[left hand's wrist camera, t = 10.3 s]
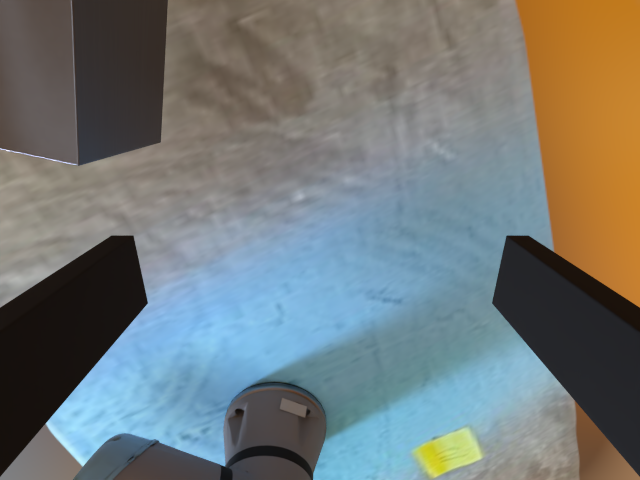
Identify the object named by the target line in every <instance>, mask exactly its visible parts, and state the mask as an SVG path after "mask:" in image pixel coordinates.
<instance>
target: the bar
mask: <svg viewBox="0 0 640 480" xmlns="http://www.w3.org/2000/svg"><path fill="white" fill-rule="evenodd" d="M167 4H168V0H0V149H2V150H7V151H12V152H16V153H21V154H26V155H30V156H35V157H40V158H45V159H49V160H54V161H59V162H63V163H68V164H73V165H78V166H79V165H83V164H86V163H90V162H93V161H97V160H100V159H104V158H107V157H111V156H114V155H118V154H121V153H125V152H128V151H132V150H135V149H139V148H142V147H146V146H149V145H153V144H156V143H160V142H161V126H162V106H163V86H164V65H165V45H166V25H167Z"/></svg>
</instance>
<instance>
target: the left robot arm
mask: <svg viewBox="0 0 640 480" xmlns="http://www.w3.org/2000/svg"><path fill="white" fill-rule="evenodd" d="M147 304H148V302H147V297H146V292H145V288H144V283H143V278H142V274H141V269H140V264H139V260H138V255H137V250H136V246H135V241H134V236H110V237H109V238H107V239H106V240H104V241H103V242H101V243H100V244H98V245H96V246H95V247H93V248H92V249H90V250H89V251H87V252H86V253H84V254H83V255H81V256H79V257H78V258H76V259H75V260H73V261H72V262H70V263H69V264H67V265H66V266H64V267H62V268H61V269H59V270H58V271H56V272H55V273H53V274H52V275H50V276H49V277H47V278H45V279H44V280H42V281H41V282H39V283H38V284H36V285H35V286H33V287H32V288H30V289H28V290H27V291H25V292H24V293H22V294H21V295H19V296H18V297H16V298H15V299H13V300H11V301H10V302H8V303H7V304H5V305H4V306H2V307H1V308H0V476H1V475H2V474H3V473H4V472H5V470H6V469H7V468H8V467H9V466H10V464H11V463H12V462H13V461H14V460H15V459H16V457H17V456H18V455H19V454H20V453H21V452H22V450H23V449H24V448H25V447H26V446H27V445H28V443H29V442H30V441H31V440H32V439H33V438H34V436H35V435H36V434H37V433H38V432H39V430H40V429H41V428H42V427H43V426H44V425H45V423H46V422H47V421H48V420H49V419H50V418H51V416H52V415H53V414H54V413H55V412H56V410H57V409H58V408H59V407H60V406H61V405H62V403H63V402H64V401H65V400H66V399H67V398H68V396H69V395H70V394H71V393H72V392H73V391H74V389H75V388H76V387H77V386H78V385H79V383H80V382H81V381H82V380H83V379H84V378H85V376H86V375H87V374H88V373H89V372H90V371H91V369H92V368H93V367H94V366H95V365H96V363H97V362H98V361H99V360H100V359H101V358H102V356H103V355H104V354H105V353H106V352H107V351H108V349H109V348H110V347H111V346H112V345H113V344H114V342H115V341H116V340H117V339H118V338H119V336H120V335H121V334H122V333H123V332H124V331H125V329H126V328H127V327H128V326H129V325H130V324H131V322H132V321H133V320H134V319H135V318H136V316H137V315H138V314H139V313H140V312H141V311H142V309H143V308H144V307H145V306H146V305H147ZM492 304H493V305H494V306H495V307H496V308H497V309H498V311H499V312H500V313H501V314H502V315H503V316H504V318H505V319H506V320H507V321H508V322H509V324H510V325H511V326H512V327H513V328H514V329H515V331H516V332H517V333H518V334H519V335H520V336H521V338H522V339H523V340H524V341H525V342H526V344H527V345H528V346H529V347H530V348H531V349H532V351H533V352H534V353H535V354H536V355H537V356H538V358H539V359H540V360H541V361H542V362H543V363H544V365H545V366H546V367H547V368H548V369H549V371H550V372H551V373H552V374H553V375H554V376H555V378H556V379H557V380H558V381H559V382H560V383H561V385H562V386H563V387H564V388H565V389H566V391H567V392H568V393H569V394H570V395H571V396H572V398H573V399H574V400H575V401H576V402H577V403H578V405H579V406H580V407H581V408H582V409H583V410H584V412H585V413H586V414H587V415H588V416H589V418H590V419H591V420H592V421H593V422H594V423H595V425H596V426H597V427H598V428H599V429H600V430H601V432H602V433H603V434H604V435H605V436H606V438H607V439H608V440H609V441H610V442H611V443H612V445H613V446H614V447H615V448H616V449H617V450H618V452H619V453H620V454H621V455H622V456H623V457H624V459H625V460H626V461H627V462H628V463H629V465H630V466H631V467H632V468H633V469H634V470H635V472H636V473H637V474H638V475H639V476H640V308H639V307H638V306H636V305H635V304H633V303H632V302H630V301H629V300H627V299H625V298H624V297H622V296H621V295H619V294H618V293H616V292H615V291H613V290H611V289H610V288H608V287H607V286H605V285H604V284H602V283H601V282H599V281H598V280H596V279H594V278H593V277H591V276H590V275H588V274H587V273H585V272H584V271H582V270H581V269H579V268H577V267H576V266H574V265H573V264H571V263H570V262H568V261H567V260H565V259H564V258H562V257H561V256H559V255H557V254H556V253H554V252H553V251H551V250H550V249H548V248H547V247H545V246H544V245H542V244H540V243H539V242H537V241H536V240H534V239H533V238H531V237H530V236H506V241H505V246H504V250H503V255H502V260H501V264H500V269H499V274H498V278H497V283H496V288H495V292H494V297H493V302H492ZM325 434H326V416H325V412H324V410H323V408H322V406H321V404H320V403H319V402H318V400H317V399H316V398H315V397H313V396H312V395H311V394H310V393H308V392H306V391H305V390H303V389H301V388H298V387H296V386H292V385H289V384H283V383H265V384H259V385H255V386H252V387H250V388H248V389H246V390H244V391H242V392H241V393H239V394H238V395H237V396H236V397H235V398H234V399H233V400H232V402H231V403H230V405H229V407H228V410H227V413H226V416H225V420H224V446H225V461H226V465H225V467H224V466H221V465H220V464H217V463H214V462H211V461H208V460H205V459H203V458H200V457H197V456H194V455H191V454H188V453H186V452H183V451H180V450H177V449H175V448H172V447H170V446H167V445H164V444H162V443H159V441H158V440H155V439H154V440H149V439H145V438H142V437H138V436H135V435H132V434H126V433H124V434H119V435H116V436H114V437H112V438H110V439H109V440H108V441H106V442H105V443H104V444H103V445H102V446H101V447H100V448H99V449H98V450H97V451H96V452H95V453H94V454H93V456H92V457H91V458H90V459H89V460H88V461H87V463H86V464H85V465H84V466H83V468H82V469H81V470H80V471H79V473H78V474H77V475H76V476H75V478H74V479H73V480H313V472H314V469H315V466H316V464H317V461H318V458H319V455H320V452H321V449H322V446H323V443H324V440H325Z"/></svg>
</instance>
